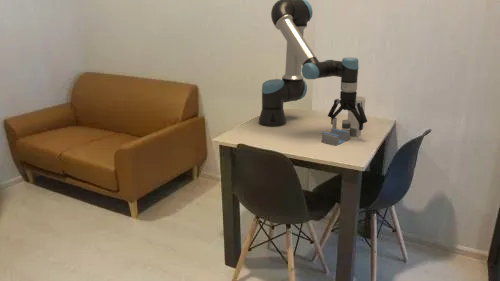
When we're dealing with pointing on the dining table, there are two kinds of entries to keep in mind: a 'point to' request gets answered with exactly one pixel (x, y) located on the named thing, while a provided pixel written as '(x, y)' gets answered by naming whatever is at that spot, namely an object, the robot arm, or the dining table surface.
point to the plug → (346, 125)
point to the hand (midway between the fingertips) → (346, 133)
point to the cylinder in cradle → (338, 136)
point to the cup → (351, 115)
